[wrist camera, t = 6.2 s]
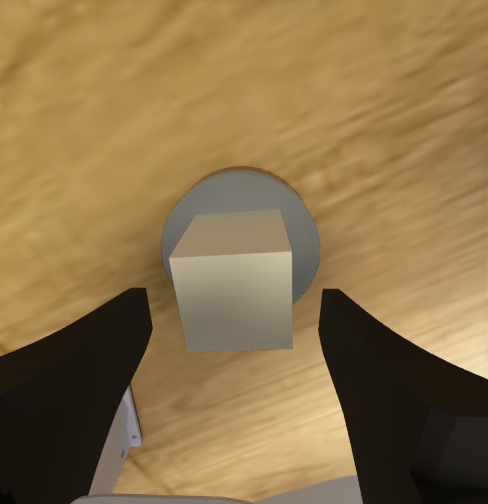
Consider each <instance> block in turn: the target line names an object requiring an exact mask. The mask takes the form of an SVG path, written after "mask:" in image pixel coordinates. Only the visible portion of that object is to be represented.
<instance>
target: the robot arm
mask: <svg viewBox="0 0 488 504" xmlns="http://www.w3.org/2000/svg"><path fill="white" fill-rule="evenodd" d="M152 329H153V327H152V321H151V315H150V309H149V303H148V297H147V292H146V288H130V289H128V290H126V291H124V292H123V293H121V294H119V295H118V296H116V297H114V298H113V299H111V300H110V301H108V302H107V303H105V304H103V305H102V306H100V307H99V308H97V309H95V310H94V311H92V312H91V313H89V314H87V315H85V316H84V317H82V318H80V319H79V320H77V321H75V322H73V323H72V324H70V325H68V326H66V327H65V328H63V329H61V330H59V331H57V332H55V333H53V334H51V335H49V336H47V337H45V338H43V339H41V340H39V341H36V342H34V343H32V344H30V345H27V346H25V347H22V348H20V349H17V350H15V351H13V352H10V353H8V354H5V355H3V356H0V504H252V503H250V502H249V501H244V500H238V499H233V498H227V497H211V496H178V495H144V494H113V491H114V489H115V486H116V483H117V481H118V478H119V476H120V473H121V470H122V468H123V465H124V462H125V460H126V457H127V455H128V452H129V449H130V447H138V446H140V445H141V443H142V437H141V433H140V429H139V424H138V420H137V416H136V412H135V408H134V403H133V399H132V395H131V391H130V387H129V384H130V382H131V380H132V378H133V376H134V374H135V372H136V370H137V368H138V366H139V364H140V361H141V359H142V357H143V355H144V353H145V351H146V348H147V345H148V342H149V339H150V336H151V333H152ZM318 331H319V337H320V342H321V347H322V351H323V355H324V358H325V361H326V364H327V367H328V370H329V372H330V375H331V378H332V381H333V384H334V387H335V390H336V393H337V396H338V398H339V401H340V404H341V408H342V411H343V414H344V418H345V423H346V427H347V431H348V435H349V439H350V444H351V448H352V453H353V457H354V462H355V467H356V471H357V476H358V481H359V486H360V491H361V496H362V501H363V504H488V379H486V378H484V377H481V376H479V375H476V374H474V373H472V372H469V371H467V370H465V369H462V368H460V367H458V366H456V365H453V364H451V363H449V362H447V361H445V360H443V359H441V358H439V357H437V356H435V355H433V354H431V353H429V352H427V351H426V350H424V349H422V348H420V347H418V346H417V345H415V344H413V343H412V342H410V341H408V340H407V339H405V338H403V337H402V336H400V335H398V334H397V333H395V332H394V331H392V330H391V329H390V328H388V327H387V326H385V325H384V324H382V323H381V322H380V321H378V320H377V319H375V318H374V317H373V316H372V315H370V314H369V313H368V312H366V311H365V310H364V309H363V308H361V307H360V306H359V305H358V304H356V303H355V302H354V301H353V300H352V299H350V298H349V297H348V296H347V295H346V294H344V293H343V292H342V291H340V290H339V289H323V292H322V301H321V310H320V319H319V328H318Z"/></svg>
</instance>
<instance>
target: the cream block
mask: <svg viewBox="0 0 488 504" xmlns="http://www.w3.org/2000/svg"><path fill="white" fill-rule="evenodd" d="M169 262H170V267H171V272H172V277H173V282H174V287H175V292H176V297H177V302H178V307H179V312H180V317H181V322H182V328H183V333H184V338H185V343H186V348H187V353H188V352H217V351H246V350H275V349H293V327H292V251H291V247H290V243H289V240H288V236H287V233H286V229H285V226H284V222H283V218H282V215H281V211H280V209H277V210H261V211H245V212H229V213H213V214H197V215H195V217H194V218H193V220H192V222H191V223H190V225H189V226H188V228H187V230H186V231H185V233H184V234H183V236H182V238H181V239H180V241H179V243H178V244H177V246H176V247H175V249H174V251H173V252H172V254H171V255H170V257H169Z"/></svg>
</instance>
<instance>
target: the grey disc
mask: <svg viewBox="0 0 488 504" xmlns="http://www.w3.org/2000/svg"><path fill="white" fill-rule="evenodd" d="M277 209H280V211H281V215H282V218H283V222H284V226H285V229H286V233H287V236H288V240H289V243H290V247H291V251H292V304H294V303H295V302H296V301H297V300H298V299H299V298H300V297H301V296H302V295H303V294H304V293H305V292H306V290H307V289H308V287H309V286H310V284H311V283H312V281H313V279H314V277H315V274H316V271H317V268H318V265H319V259H320V241H319V235H318V231H317V228H316V225H315V223H314V221H313V218H312V216H311V215H310V213H309V211H308V209H307V208H306V206H305V204H304V202H303V201H302V199H301V198H300V196H299V194H298V193H297V192H296V191H295V190H294V188H293V187H292V186H290V185H289V184H288V183H287V182H286V181H285V180H283V179H282V178H280V177H279V176H277V175H275V174H273V173H271V172H269V171H266V170H263V169H260V168H255V167H246V166H238V167H229V168H224V169H221V170H218V171H215V172H213V173H211V174H209V175H207V176H205V177H204V178H202V179H201V180H200V181H198V182H197V183H196V184H195V185H194V186H193V187H192V188H191V189H190V190H189V191H188V192H187V193H186V194H185V195H184V196H183V197H182V199H181V200H180V201H179V202H178V203H177V204H176V206H175V207H174V208H173V210H172V211H171V213H170V215H169V217H168V218H167V221H166V224H165V226H164V230H163V234H162V242H161V251H162V259H163V264H164V267H165V270H166V273H167V275H168V277H169V279H170V281H171V283H172V284H173V285H174V282H173V277H172V272H171V267H170V262H169V257H170V255H171V254H172V252H173V251H174V249H175V247H176V246H177V244H178V243H179V241H180V239H181V238H182V236H183V234H184V233H185V231H186V230H187V228H188V226H189V225H190V223H191V222H192V220H193V218H194V217H195V215H197V214H213V213H229V212H245V211H261V210H277Z"/></svg>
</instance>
